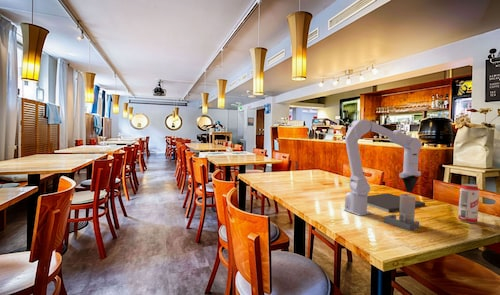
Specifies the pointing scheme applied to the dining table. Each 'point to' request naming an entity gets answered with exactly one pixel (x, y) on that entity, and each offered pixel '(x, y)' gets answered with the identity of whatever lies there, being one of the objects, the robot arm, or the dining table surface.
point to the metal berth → (400, 223)
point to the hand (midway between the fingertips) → (409, 191)
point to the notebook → (388, 202)
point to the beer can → (468, 203)
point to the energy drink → (407, 208)
